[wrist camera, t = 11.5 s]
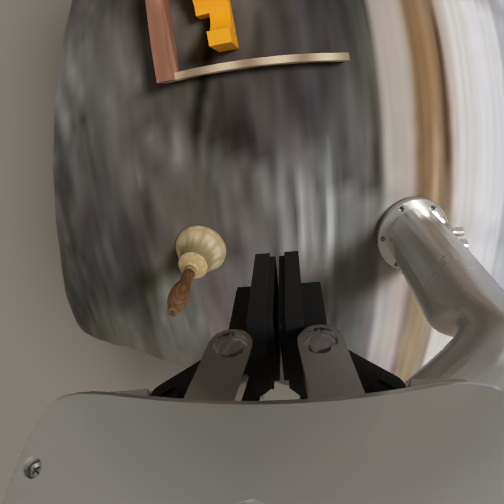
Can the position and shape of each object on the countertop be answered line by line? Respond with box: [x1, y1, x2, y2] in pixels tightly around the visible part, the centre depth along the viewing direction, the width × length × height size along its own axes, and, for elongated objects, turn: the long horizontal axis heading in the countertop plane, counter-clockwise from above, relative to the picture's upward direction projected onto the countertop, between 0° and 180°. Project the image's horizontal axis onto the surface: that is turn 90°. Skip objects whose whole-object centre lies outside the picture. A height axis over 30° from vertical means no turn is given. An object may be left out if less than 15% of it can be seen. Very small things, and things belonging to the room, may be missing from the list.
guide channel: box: [145, 0, 349, 83], centre depth 30 cm, size 24×16×4 cm, turn 98°
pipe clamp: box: [193, 0, 239, 52], centre depth 29 cm, size 12×4×6 cm, turn 9°
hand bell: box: [167, 225, 226, 317], centre depth 43 cm, size 8×8×16 cm
